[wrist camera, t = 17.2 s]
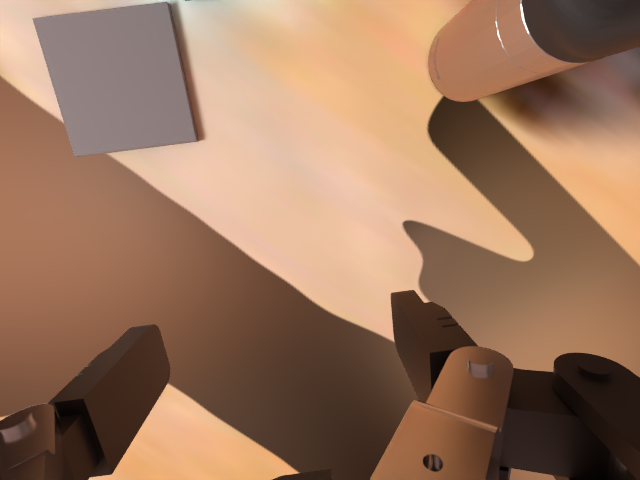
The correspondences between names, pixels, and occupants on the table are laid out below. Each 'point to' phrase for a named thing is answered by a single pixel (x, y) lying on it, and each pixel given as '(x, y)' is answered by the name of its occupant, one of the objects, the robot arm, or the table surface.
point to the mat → (118, 78)
